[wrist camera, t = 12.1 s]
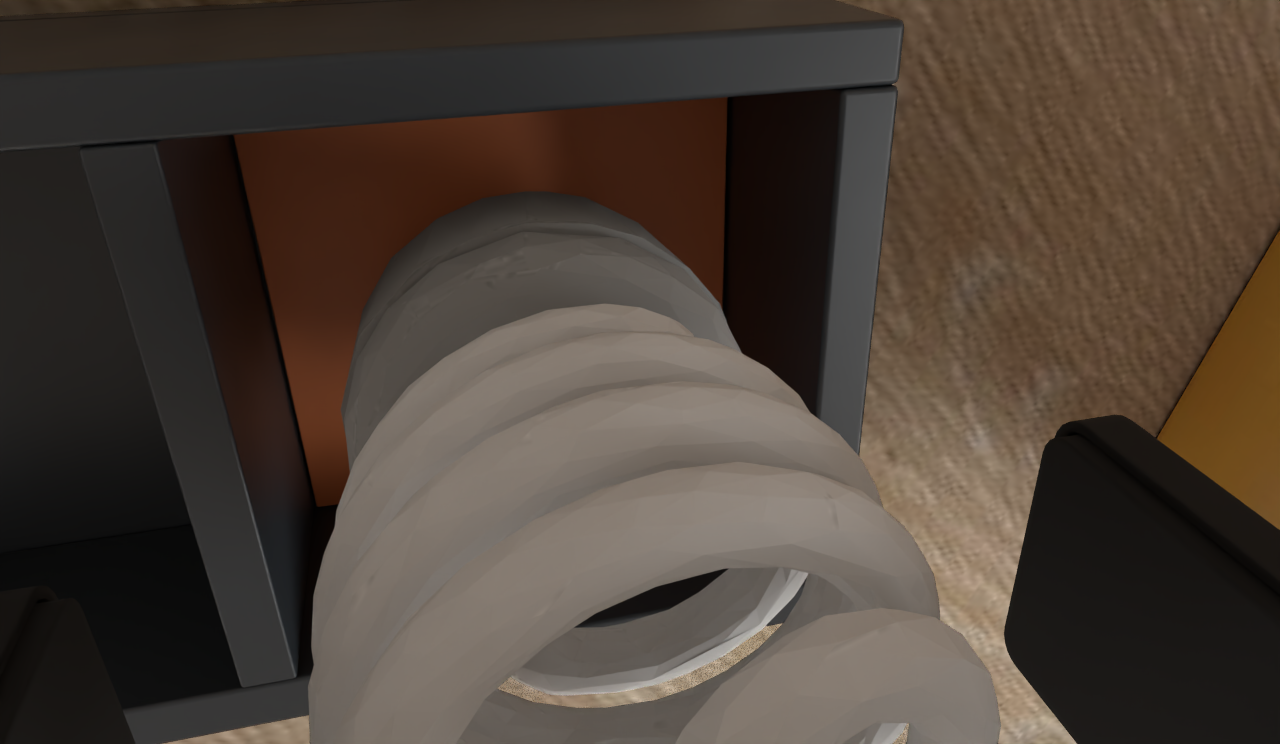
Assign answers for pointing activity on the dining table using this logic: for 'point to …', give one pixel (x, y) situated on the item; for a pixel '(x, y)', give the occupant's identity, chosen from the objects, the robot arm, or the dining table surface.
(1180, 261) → the dining table surface
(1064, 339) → the dining table surface
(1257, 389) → the bread
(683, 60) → the sorting tray
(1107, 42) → the dining table surface
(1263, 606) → the robot arm
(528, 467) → the light bulb
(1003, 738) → the dining table surface
